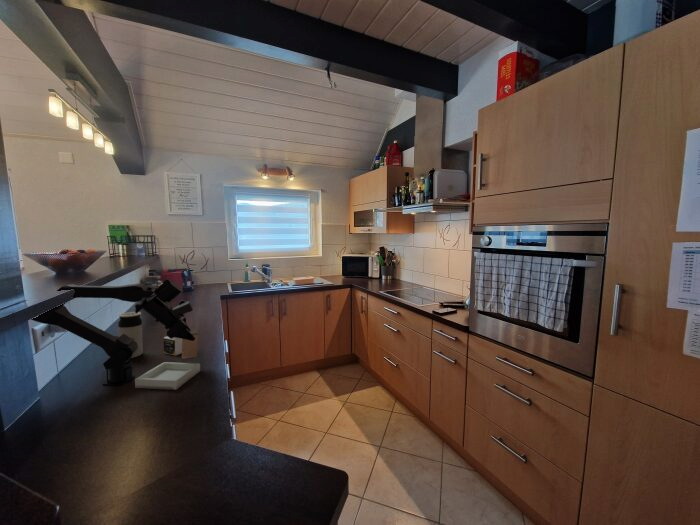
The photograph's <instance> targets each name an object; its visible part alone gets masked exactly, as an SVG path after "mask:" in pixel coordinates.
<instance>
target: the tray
mask: <svg viewBox="0 0 700 525" xmlns="http://www.w3.org/2000/svg"><path fill="white" fill-rule="evenodd" d="M200 372H201V364H200V363H198V362H197V363H194V362H172V361H171V362H170V361H164V362H162V363H160V364H158V365H157V366H155V367H152V368H151V369H150V370H148V371H146V372H145V373H143V374H141V375H140V376H138V377H136V378H134V389H153V390H154V389H155V390H175V391H176V390H178V389H179V388H180V387H182V386H183V385H184V384H186V383H187V382H188V381H189V380H191V379H192V378H194V377H195V376H196V375H197V374H199V373H200Z"/></svg>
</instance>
